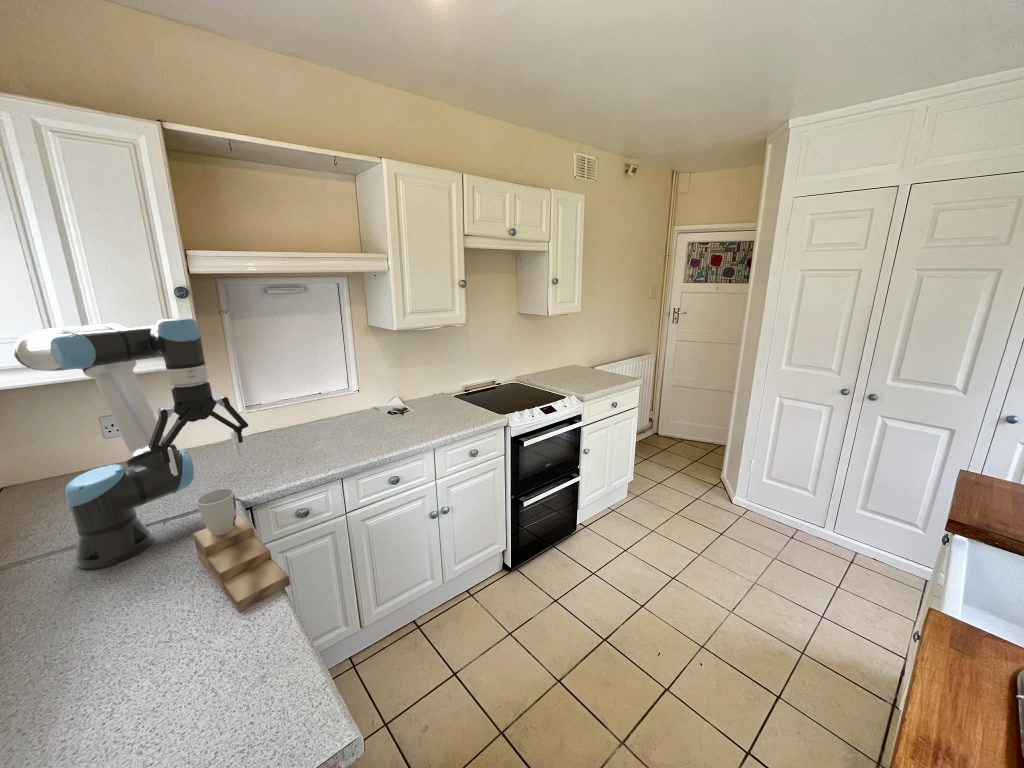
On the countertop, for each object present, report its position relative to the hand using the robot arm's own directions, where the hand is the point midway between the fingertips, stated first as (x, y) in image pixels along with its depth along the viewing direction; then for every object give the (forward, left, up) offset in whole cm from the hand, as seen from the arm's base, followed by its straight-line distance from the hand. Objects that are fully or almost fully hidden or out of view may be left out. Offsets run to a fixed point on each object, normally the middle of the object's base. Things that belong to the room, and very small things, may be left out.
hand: (208, 464), depth 105 cm
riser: (0, -10, -27) cm, 29 cm away
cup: (0, 0, -19) cm, 19 cm away
